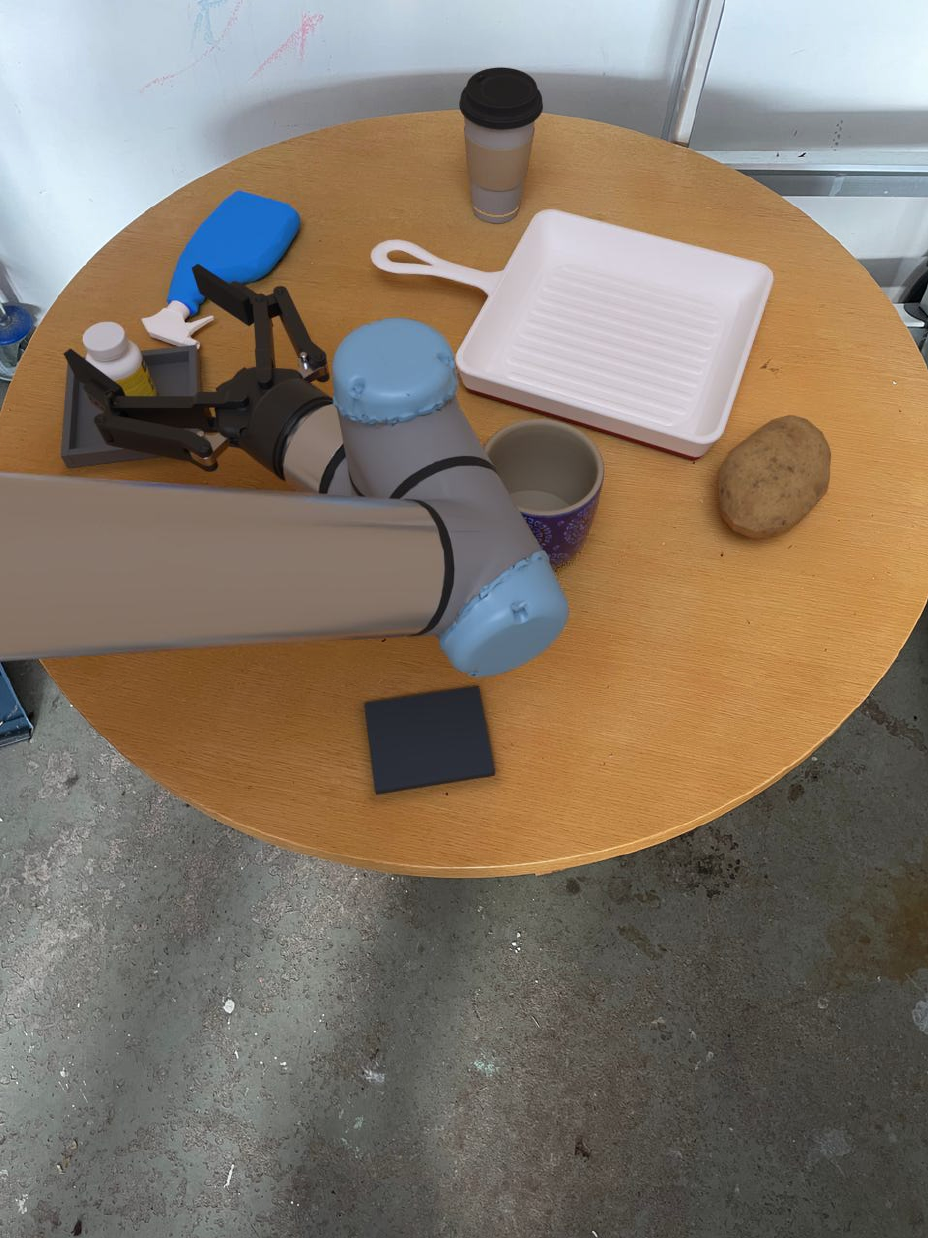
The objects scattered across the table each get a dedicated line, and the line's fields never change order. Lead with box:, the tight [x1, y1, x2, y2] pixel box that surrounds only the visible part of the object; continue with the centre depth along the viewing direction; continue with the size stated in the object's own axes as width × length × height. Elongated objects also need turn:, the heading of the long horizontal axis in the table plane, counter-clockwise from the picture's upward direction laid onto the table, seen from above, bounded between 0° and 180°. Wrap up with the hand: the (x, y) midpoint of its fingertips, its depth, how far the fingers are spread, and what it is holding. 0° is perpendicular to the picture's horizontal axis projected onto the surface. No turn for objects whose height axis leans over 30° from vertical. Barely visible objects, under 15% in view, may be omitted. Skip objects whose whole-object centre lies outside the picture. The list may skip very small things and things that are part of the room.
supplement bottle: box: [82, 321, 158, 396], centre depth 87 cm, size 5×5×10 cm
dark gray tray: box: [60, 345, 202, 469], centre depth 91 cm, size 14×14×2 cm
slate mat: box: [363, 685, 496, 796], centre depth 73 cm, size 10×8×1 cm
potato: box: [718, 414, 832, 539], centre depth 83 cm, size 10×14×8 cm
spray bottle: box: [140, 189, 302, 350], centre depth 101 cm, size 3×11×24 cm
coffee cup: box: [458, 66, 544, 224], centre depth 102 cm, size 9×9×15 cm
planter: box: [483, 418, 605, 570], centre depth 79 cm, size 11×11×11 cm
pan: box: [370, 208, 775, 461], centre depth 96 cm, size 28×44×5 cm, turn 68°
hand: (137, 319), depth 74 cm, fingers open, 13 cm apart
